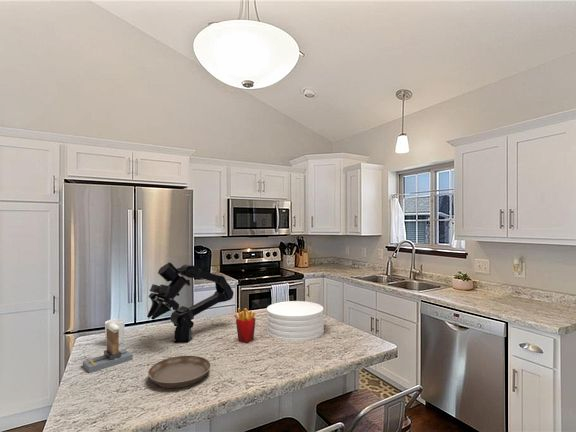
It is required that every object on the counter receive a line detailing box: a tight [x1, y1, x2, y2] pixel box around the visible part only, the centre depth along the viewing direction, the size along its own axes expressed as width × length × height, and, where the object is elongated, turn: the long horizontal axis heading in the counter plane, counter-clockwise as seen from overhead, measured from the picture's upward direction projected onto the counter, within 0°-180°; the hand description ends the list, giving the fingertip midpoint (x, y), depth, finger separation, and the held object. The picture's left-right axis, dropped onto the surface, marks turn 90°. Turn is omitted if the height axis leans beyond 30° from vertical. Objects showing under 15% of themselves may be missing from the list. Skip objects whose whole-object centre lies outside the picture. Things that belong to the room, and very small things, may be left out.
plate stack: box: [266, 300, 325, 342], centre depth 157 cm, size 28×28×12 cm
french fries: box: [233, 307, 257, 344], centre depth 143 cm, size 9×8×15 cm
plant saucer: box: [147, 355, 212, 389], centre depth 110 cm, size 21×21×3 cm
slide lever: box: [103, 322, 121, 360], centre depth 123 cm, size 4×7×12 cm, turn 47°
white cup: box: [104, 318, 126, 346], centre depth 143 cm, size 8×8×10 cm
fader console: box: [82, 349, 134, 374], centre depth 122 cm, size 15×8×2 cm, turn 137°
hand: (149, 318), depth 134 cm, fingers open, 4 cm apart
